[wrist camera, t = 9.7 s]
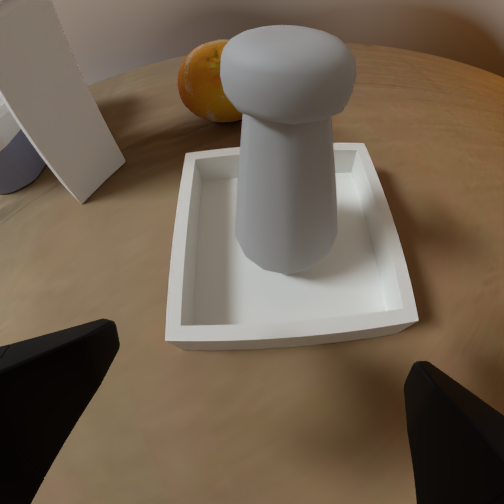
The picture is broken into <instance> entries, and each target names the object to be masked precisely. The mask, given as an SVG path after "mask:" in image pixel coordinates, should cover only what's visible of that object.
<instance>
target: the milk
mask: <svg viewBox="0 0 504 504" xmlns="http://www.w3.org/2000/svg"><path fill="white" fill-rule="evenodd" d="M0 97H1V98H2V100H3V102H4V103H5V105H6V107H7V108H8V110H9V111H10V113H11V114H12V116H13V118H14V119H15V121H16V122H17V124H18V125H19V127H20V128H21V130H22V131H23V132H24V134H25V135H26V137H27V138H28V140H29V141H30V143H31V144H32V145H33V147H34V148H35V149H36V151H37V152H38V154H39V155H40V156H41V158H42V159H43V160H44V162H45V163H46V164H47V166H48V167H49V168H50V170H51V171H52V172H53V173H54V175H55V176H56V177H57V179H58V180H59V181H60V182H61V183H62V184H63V186H64V187H65V188H66V189H67V190H68V191H69V192H70V193H71V194H72V195H73V196H74V197H75V198H76V199H77V200H78V201H79V202H80V203H81V204H83V203H84V202H85V201H86V200H87V199H88V198H89V197H90V196H91V195H92V194H93V193H94V192H95V191H96V190H97V189H98V188H99V187H100V186H101V185H102V184H103V183H104V182H105V181H106V180H107V179H108V178H109V177H110V176H111V175H112V174H113V173H114V172H115V171H116V170H117V169H119V168H120V167H121V166H122V165H123V164H124V163H125V162H126V160H125V158H124V157H123V155H122V153H121V151H120V149H119V147H118V145H117V144H116V142H115V140H114V138H113V136H112V134H111V132H110V130H109V128H108V126H107V124H106V122H105V121H104V119H103V117H102V115H101V113H100V111H99V109H98V107H97V105H96V103H95V100H94V98H93V96H92V94H91V92H90V90H89V88H88V86H87V84H86V82H85V80H84V77H83V75H82V73H81V71H80V69H79V66H78V64H77V62H76V60H75V58H74V55H73V53H72V51H71V48H70V46H69V44H68V41H67V39H66V36H65V34H64V31H63V29H62V26H61V24H60V21H59V19H58V16H57V13H56V11H55V8H54V6H53V3H52V0H0Z"/></svg>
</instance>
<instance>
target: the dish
mask: <svg viewBox="0 0 504 504" xmlns="http://www.w3.org/2000/svg"><path fill="white" fill-rule="evenodd" d="M333 150H334V163H335V177H336V196H337V223H338V233H337V236H336V239H335V241H334V244H333V247H332V249H331V252H330V253H329V254H328V256H326V257H325V258H324V259H323V260H321V261H320V262H319V263H318V264H316V265H315V266H314V267H312V268H311V269H309V270H305V271H300V272H296V273H292V274H288V275H284V274H281V273H277V272H272V271H267V270H264V269H262V268H261V267H259V266H258V265H257V264H255V263H254V262H252V261H251V260H250V259H248V258H247V257H246V256H245V254H244V252H243V250H242V248H241V246H240V244H239V242H238V240H237V238H236V236H235V234H234V233H235V215H236V199H237V184H238V169H239V155H240V147H234V148H224V149H215V150H206V151H198V152H191V153H186V154H185V160H184V166H183V172H182V178H181V184H180V190H179V197H178V204H177V211H176V219H175V227H174V235H173V244H172V253H171V263H170V274H169V285H168V298H167V313H166V332H165V341H166V342H168V343H170V344H172V345H174V346H176V347H179V348H181V349H183V350H246V349H267V348H283V347H296V346H307V345H318V344H327V343H336V342H344V341H352V340H359V339H366V338H373V337H379V336H385V335H391V334H396V333H398V332H400V331H402V330H404V329H405V328H407V327H409V326H411V325H412V324H414V323H416V322H418V321H419V319H418V314H417V309H416V304H415V299H414V294H413V290H412V285H411V281H410V277H409V273H408V269H407V265H406V261H405V257H404V254H403V250H402V247H401V243H400V240H399V236H398V233H397V230H396V227H395V224H394V220H393V217H392V214H391V211H390V208H389V205H388V203H387V200H386V197H385V194H384V191H383V189H382V186H381V183H380V181H379V178H378V176H377V173H376V171H375V168H374V166H373V163H372V161H371V158H370V156H369V154H368V151H367V149H366V147H365V144H364V143H333Z"/></svg>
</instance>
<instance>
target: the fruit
mask: <svg viewBox="0 0 504 504" xmlns="http://www.w3.org/2000/svg"><path fill="white" fill-rule="evenodd" d="M230 40H231V39H220V40H215V41H212V42H207V43H204V44H202V45H200V46H198V47H197V48H195V49H194V50H193V51H192V52H191V53H190V54H188V56H187V57H186V58H185V60H184V61H183V63H182V65H181V67H180V70H179V74H178V89H179V94H180V97H181V100H182V101H183V103H184V104H185V106H186V107H187V108H188V109H189V110H190V111H191V112H193V113H194V114H195V115H197V116H199V117H201V118H203V119H206V120H209V121H213V122H234V121H238V120H241V119H242V116H243V113H241V112H238V110H237V109H236V108H235V107H234V106H233V104H232V103H231V102H230V101H229V100H228V98H227V96H226V95H225V93H224V91H223V86H222V82H221V78H220V63H221V55H222V51H223V47H224V46H225V45H226V44H227V43H228V42H229V41H230Z"/></svg>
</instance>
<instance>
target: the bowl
mask: <svg viewBox="0 0 504 504" xmlns="http://www.w3.org/2000/svg"><path fill="white" fill-rule="evenodd" d="M45 166H46V163H45V162H44V160H43V159H42V158H41V156H40V155H39V154H38V152H37V151H36V149H35V148H34V147H33V145H32V144H31V143H30V141H29V140H28V138H27V137H26V135H25V134H24V132H23V131H22V130H21V128H20V127H19V125H18V124H17V122H16V121H15V119H14V118H13V116H12V114H11V113H10V111H9V110H8V108H7V107H6V105H5V103H4V102H3V100H2V98H1V97H0V194H7V193H11V192H14V191H16V190H19V189H20V188H22V187H24V186H26V185H28V184H30V183H31V182H33V181H34V180H35V179H36V178H37V177H38V176H39V174H40V173H41V172H42V170H43V169H44V167H45Z"/></svg>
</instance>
